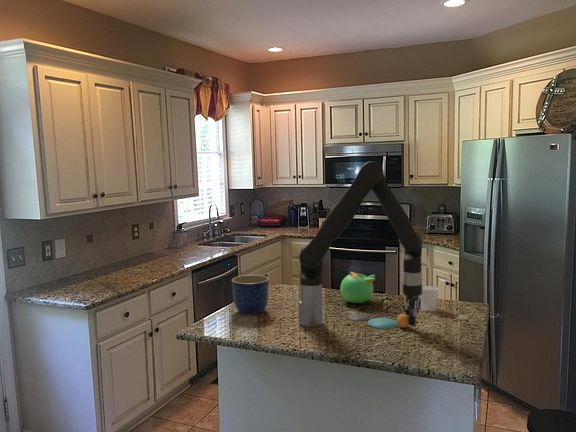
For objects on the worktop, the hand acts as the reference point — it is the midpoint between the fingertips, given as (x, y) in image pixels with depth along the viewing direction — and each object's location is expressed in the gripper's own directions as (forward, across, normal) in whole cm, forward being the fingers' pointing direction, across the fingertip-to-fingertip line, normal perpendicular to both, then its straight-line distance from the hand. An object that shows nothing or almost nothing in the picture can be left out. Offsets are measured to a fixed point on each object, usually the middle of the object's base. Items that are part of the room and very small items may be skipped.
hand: (412, 324), depth 188 cm
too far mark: (+2, 0, -25) cm, 25 cm away
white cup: (+2, -30, -5) cm, 30 cm away
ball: (-1, 0, -4) cm, 4 cm away
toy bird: (+2, -21, -37) cm, 42 cm away
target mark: (+2, 0, -13) cm, 13 cm away
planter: (+1, +20, -69) cm, 72 cm away
